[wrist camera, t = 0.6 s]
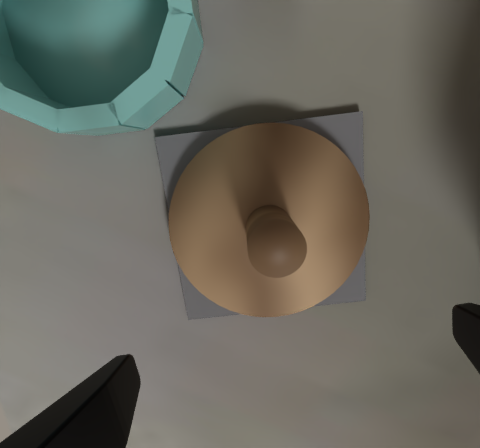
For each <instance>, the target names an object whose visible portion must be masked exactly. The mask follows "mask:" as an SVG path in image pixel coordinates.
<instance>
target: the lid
mask: <svg viewBox="0 0 480 448" xmlns="http://www.w3.org/2000/svg"><path fill="white" fill-rule="evenodd" d="M369 217H370V216H369V203H368V199H367V194H366V190H365V188H364V185H363V182H362V180H361V177H360V176H359V174H358V172H357V170H356V168H355V167H354V165H353V164H352V163H351V161H350V160H349V159H348V157H347V156H346V155H345V154H344V153H343V152H342V151H341V150H340V149H339V148H338V147H337V146H336V145H334V144H333V143H332V142H330V141H329V140H328V139H326V138H325V137H323V136H321V135H319V134H317V133H315V132H313V131H311V130H308V129H305V128H303V127H300V126H295V125H291V124H285V123H258V124H253V125H248V126H243V127H240V128H238V129H235V130H232V131H229V132H227V133H225V134H223V135H222V136H220V137H218V138H216V139H215V140H213V141H212V142H210V143H209V144H208V145H206V146H205V147H204V148H203V149H202V150H201V151H200V152H198V153H197V154H196V155H195V157H194V158H193V159H192V160H191V161H190V163H189V164H188V165H187V167H186V168H185V170H184V171H183V173H182V174H181V176H180V178H179V180H178V182H177V185H176V187H175V189H174V193H173V196H172V199H171V204H170V210H169V234H170V241H171V245H172V249H173V252H174V255H175V257H176V260H177V262H178V264H179V266H180V268H181V269H182V271H183V273H184V274H185V276H186V277H187V278H188V280H189V281H190V282H191V284H192V285H193V286H194V287H195V288H196V289H197V290H198V291H199V292H200V293H202V294H203V295H204V296H205V297H207V298H208V299H209V300H211V301H213V302H214V303H216V304H218V305H219V306H221V307H224V308H226V309H228V310H230V311H233V312H237V313H240V314H244V315H249V316H256V317H278V316H284V315H290V314H293V313H297V312H300V311H303V310H305V309H308V308H310V307H312V306H314V305H316V304H318V303H319V302H321V301H323V300H324V299H326V298H327V297H329V296H330V295H331V294H333V293H334V292H335V291H336V290H337V289H338V288H339V287H340V286H341V285H342V284H343V283H344V282H345V281H346V280H347V278H348V277H349V276H350V275H351V273H352V272H353V270H354V269H355V267H356V265H357V264H358V262H359V260H360V257H361V255H362V253H363V250H364V247H365V244H366V241H367V236H368V231H369Z"/></svg>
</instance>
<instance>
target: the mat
mask: <svg viewBox="0 0 480 448" xmlns="http://www.w3.org/2000/svg"><path fill="white" fill-rule="evenodd" d="M272 123H285V124H291V125H295V126H300V127H303V128H305V129H308V130H311V131H313V132H315V133H317V134H319V135H321V136H323V137H325V138H326V139H328V140H329V141H330V142H332V143H333V144H334V145H336V146H337V147H338V148H339V149H340V150H341V151H342V152H343V153H344V154H345V155H346V156H347V157H348V159H349V160H350V161H351V163H352V164H353V165H354V167H355V168H356V170H357V172H358V174H359V176H360V177H361V180H362V182H363V185H364V167H363V111H360V112H352V113H344V114H336V115H328V116H320V117H312V118H304V119H296V120H288V121H280V122H272ZM240 127H243V126H240ZM240 127H232V128H224V129H216V130H208V131H200V132H192V133H184V134H176V135H168V136H160V137H155V141H156V146H157V152H158V157H159V163H160V168H161V174H162V179H163V185H164V190H165V196H166V201H167V207H168V212H169V210H170V204H171V199H172V196H173V193H174V189H175V187H176V185H177V182H178V180H179V178H180V176H181V174H182V173H183V171H184V170H185V168H186V167H187V165H188V164H189V163H190V161H191V160H192V159H193V158H194V157H195V155H196V154H197V153H198V152H200V151H201V150H202V149H203V148H204V147H205V146H206V145H208V144H209V143H210V142H212V141H213V140H215V139H216V138H218V137H220V136H222V135H223V134H225V133H227V132H229V131H232V130H235V129H238V128H240ZM178 267H179V272H180V278H181V283H182V289H183V294H184V299H185V305H186V310H187V316H188V320H191V319H201V318H210V317H219V316H228V315H237V314H240V313H237V312H233V311H230V310H228V309H226V308H224V307H221V306H219V305H218V304H216V303H214V302H213V301H211V300H209V299H208V298H207V297H205V296H204V295H203V294H202V293H200V292H199V291H198V290H197V289H196V288H195V287H194V286H193V285H192V284H191V282H190V281H189V280H188V278H187V277H186V276H185V274H184V273H183V271H182V269H181V268H180V266H179V264H178ZM365 300H366V287H365V247H364V250H363V253H362V255H361V257H360V260H359V262H358V264H357V265H356V267H355V269H354V270H353V272H352V273H351V275H350V276H349V277H348V278H347V280H346V281H345V282H344V283H343V284H342V285H341V286H340V287H339V288H338V289H337V290H336V291H335V292H334V293H333V294H331V295H330V296H329V297H327V298H326V299H324V300H323V301H321V302H319V303H318V304H316V305H314V306H320V305H329V304H338V303H347V302H356V301H365Z"/></svg>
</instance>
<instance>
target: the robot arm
mask: <svg viewBox="0 0 480 448" xmlns="http://www.w3.org/2000/svg"><path fill="white" fill-rule="evenodd" d="M452 326H453V336H454V338H455V340H456V342H457V343H458V345H459V346H460V347H461V349H462V350H463V352H464V353H465V354H466V356H467V357H468V358H469V360H470V361H471V363H472V364H473V365H474V367H475V368H476V369H477V371H478V372H479V374H480V305H477V304H473V303H464V304H458V305H455V306H454V307H453V309H452ZM139 389H140V376H139V373H138V369H137V366H136V363H135V360H134V357H133V356H132V355H130V354H127V355H120V356H116V357H115V358H114V359H112V360H111V361H110V362H108V363H107V364H106V365H104V366H103V367H102V368H100V369H99V370H97V371H96V372H95V373H93V374H92V375H91V376H89V377H88V378H87V379H85V380H84V381H83V382H81V383H80V384H79V385H77V386H76V387H75V388H73V389H72V390H71V391H69V392H68V393H67V394H65V395H64V396H62V397H61V398H60V399H58V400H57V401H56V402H54V403H53V404H52V405H50V406H49V407H48V408H46V409H45V410H44V411H42V412H41V413H40V414H38V415H37V416H36V417H34V418H33V419H32V420H30V421H29V422H28V423H26V424H25V425H23V426H22V427H21V428H19V429H18V430H17V431H15V432H14V433H13V434H11V435H10V436H9V437H7V438H6V439H5V440H3V441H2V442H1V443H0V448H126V444H127V441H128V437H129V433H130V429H131V424H132V420H133V416H134V411H135V407H136V403H137V398H138V394H139Z"/></svg>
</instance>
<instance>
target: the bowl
mask: <svg viewBox="0 0 480 448" xmlns="http://www.w3.org/2000/svg"><path fill="white" fill-rule="evenodd" d="M202 48H203V35H202V28H201V21H200V13H199V6H198V0H0V109H1V110H4V111H6V112H9V113H11V114H13V115H16V116H18V117H21V118H23V119H25V120H28V121H30V122H33V123H35V124H37V125H40V126H42V127H44V128H47V129H49V130H52V131H54V132H57V133H67V134H81V135H95V136H100V135H108V134H116V133H124V132H132V131H140V130H145V129H148V128H149V127H150V126H151V125H152V124H154V123H155V122H156V121H157V120H158V119H160V118H161V117H162V116H163V115H165V114H166V113H167V112H168V111H169V110H171V109H172V108H173V107H174V106H175V105H177V104H178V103H179V102H180V101H181V100H183V99H184V98H183V96H182V95H184V96H186V93H187V90H188V88H189V85H190V82H191V79H192V76H193V74H194V71H195V68H196V65H197V62H198V60H199V57H200V54H201V51H202ZM181 94H182V95H181Z"/></svg>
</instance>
